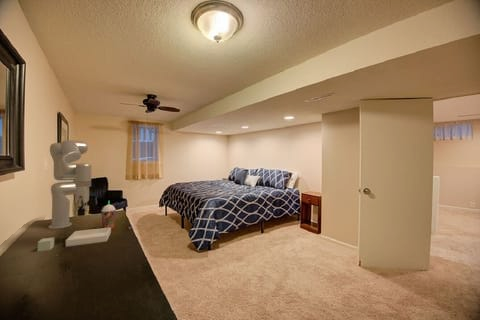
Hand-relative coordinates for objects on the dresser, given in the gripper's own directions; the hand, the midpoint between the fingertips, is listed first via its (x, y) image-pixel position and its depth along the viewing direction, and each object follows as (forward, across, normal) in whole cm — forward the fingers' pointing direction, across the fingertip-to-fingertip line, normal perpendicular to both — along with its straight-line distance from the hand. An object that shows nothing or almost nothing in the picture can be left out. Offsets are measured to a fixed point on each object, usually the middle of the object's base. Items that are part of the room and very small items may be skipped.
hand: (82, 214), depth 120 cm
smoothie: (+16, -16, +11) cm, 25 cm away
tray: (+16, 0, +4) cm, 16 cm away
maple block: (+1, 0, 0) cm, 1 cm away
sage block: (+16, +7, -14) cm, 22 cm away
